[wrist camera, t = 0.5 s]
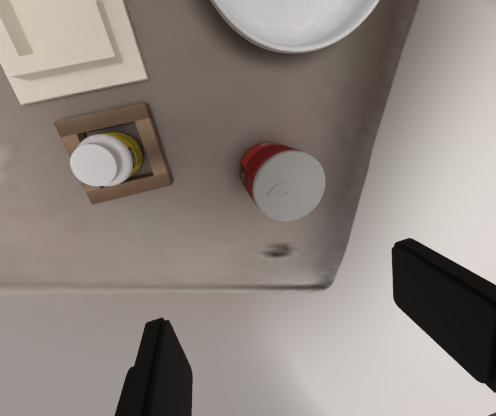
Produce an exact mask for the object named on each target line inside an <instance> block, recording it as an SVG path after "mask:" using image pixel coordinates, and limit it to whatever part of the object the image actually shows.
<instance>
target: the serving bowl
mask: <svg viewBox="0 0 496 416" xmlns="http://www.w3.org/2000/svg"><path fill="white" fill-rule="evenodd" d="M210 1H211V2H212V4H213V5H214V7H215V8H216V10H217V11H218V13H219V14H220V15H221V17H222V18H223V19H224V20H225V21H226V22H227V23H228V25H229V26H230V27H231V28H232V29H234V30H235V31H236V32H237V33H238V34H239V35H241V36H242V37H243V38H245V39H246V40H248V41H249V42H251V43H253V44H254V45H256V46H258V47H261V48H263V49H266V50H269V51H273V52H277V53H285V54H299V53H306V52H311V51H315V50H319V49H322V48H325V47H327V46H330V45H332V44H334V43H336V42H337V41H339V40H341V39H342V38H344V37H345V36H347V35H348V34H350V33H351V32H352V31H353V30H355V29H356V28H357V27H358V26H359V25H360V24H361V23H362V22H363V21H364V20H365V19H366V18H367V17H368V15H369V14H370V13H371V12H372V10H373V9H374V8H375V6H376V5H377V3H378V2H379V0H210Z"/></svg>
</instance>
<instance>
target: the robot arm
mask: <svg viewBox="0 0 496 416" xmlns="http://www.w3.org/2000/svg"><path fill="white" fill-rule="evenodd" d="M392 271H393V296H394V297H393V298H394V301H395V303H396V305H397V306H398V307H399V308H400V309H401V310H402V311H403V312H404V313H405V314H406V315H407V316H409V317H410V318H411V319H412V320H413V321H414V322H415V323H416V324H417V325H418V326H419V327H420V328H421V329H422V330H423V331H425V332H426V333H427V334H428V335H429V336H430V337H431V338H432V339H433V340H434V341H435V342H436V343H437V344H438V345H439V346H441V347H442V348H443V349H444V350H445V351H446V352H447V353H448V354H449V355H450V356H451V357H452V358H454V360H455V361H457V362H458V363H459V364H460V365H461V366H462V367H463V368H464V369H465V370H466V371H467V372H468V373H469V374H470V375H471V376H472V377H474V378H475V379H476V380H477V381H479V382H480V383H485V384H486V385H487V386H488V387H489V388H490V389H491V390H492V391H494V392H496V285H495V284H493V283H491V282H489V281H487V280H486V279H484V278H482V277H480V276H478V275H476V274H475V273H473V272H471V271H469V270H468V269H466V268H464V267H462V266H460V265H459V264H457V263H455V262H453V261H451V260H450V259H448V258H446V257H444V256H442V255H441V254H439V253H437V252H435V251H433V250H432V249H430V248H428V247H426V246H424V245H422V244H421V243H419V242H417V241H415V240H414V239H411V238H408V239H405V240H402V241H399V242H396V243H395V244H394V247H393V248H392ZM192 379H193V378H192V370H191V367H190V365H189V362H188V360H187V358H186V356H185V354H184V351H183V349H182V347H181V345H180V343H179V341H178V338H177V336H176V334H175V332H174V330H173V328H172V325H171V323H170V321H169V320H166V321H165V320H164V319H163V318H159V319H156V320H153V321H150V322H147V323H146V325H145V328H144V332H143V336H142V339H141V343H140V347H139V351H138V354H137V358H136V362H135V365H134V366H133V367H131V368H130V369H129V370H128V373H127V375H126V378H125V382H124V385H123V389H122V392H121V396H120V399H119V403H118V406H117V410H116V413H115V416H191V414H192V413H191V412H192V411H191V410H192V381H193V380H192ZM489 416H496V413H494V414H491V415H489Z"/></svg>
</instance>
